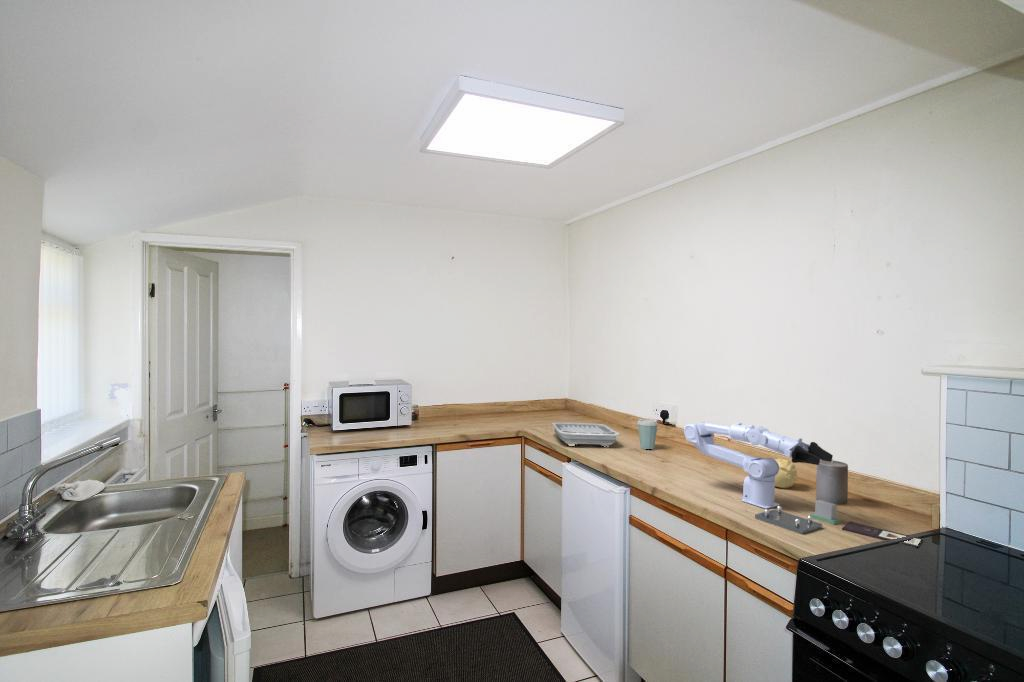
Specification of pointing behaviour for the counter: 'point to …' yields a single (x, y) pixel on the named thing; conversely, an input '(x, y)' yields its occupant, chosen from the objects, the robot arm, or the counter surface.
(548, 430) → the counter surface
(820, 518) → the green base grey block
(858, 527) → the chocolate bar
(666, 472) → the counter surface
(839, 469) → the pillar candle
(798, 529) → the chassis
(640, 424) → the disposable coffee cup
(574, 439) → the dish rack
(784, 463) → the sculpture
